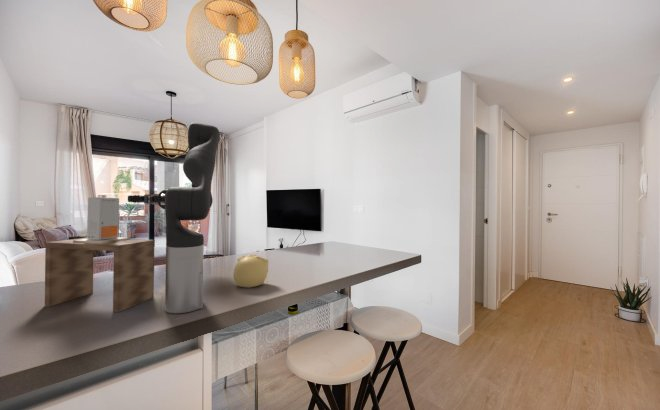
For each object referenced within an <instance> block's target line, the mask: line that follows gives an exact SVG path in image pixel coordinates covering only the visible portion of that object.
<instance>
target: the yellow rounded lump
mask: <svg viewBox="0 0 660 410" xmlns="http://www.w3.org/2000/svg"><path fill="white" fill-rule="evenodd" d="M268 272H269V259H267V258H264V257H262V256H259V255H257V254H250V255H243V256H241V257H239V258H237V262H236V263H235V265H234V268H233V272H232V273H233V281H234V283H235V284H236V285H237V286H238V287H242V288H254V287H258V286H261V285H263V284H264V283H265V281H266V280H267V278H268V277H267V276H268Z"/></svg>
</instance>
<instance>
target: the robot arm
mask: <svg viewBox="0 0 660 410" xmlns="http://www.w3.org/2000/svg"><path fill="white" fill-rule="evenodd" d="M220 136H221V135H220V130H219V128H218V127H216V126H214V125H211V124H210V125H209V124H205V123H199V122H191V123H190V124H189V126H188V130H187V144H188V145H187V146H188V152H187V153H186V155H185V157H184V161H183V165H182V170H183V172H184V175H185V177H186V178H187V179H188V180H189V181H190V182H191V186H170V187H169V188H167V189H163V190H161V191H160V192H159V193H154V194H150V193H149V194H144V195H140V194H139V195H136V194H134V195H128V196H127V202H128V203H134V204H136V203H137V204H138V203H143V204H144V205H154V206H159V208H161V209H162V210H164V213H165V283H164V284H165V289H164V290H165V293H164V294H165V297H164V309H165V312H166V313H168V314H183V313H185V314H186V313H190V312H194V311H196V310H200V309H204V306H203V305H204V251H205V250H204V247H205V246H204V245H205V240H204V239H205V237H204V235H203V234H202V233H200V232H198V231H197V232H196V231H194V230H191V229H189V228H187V227H185V226H184V225H183V224H182V222H181V221H203V220H205V219H206V218H208V216H209V213H210V208H211V207H212V205H213V200H214V199H213V195H212V192H211V190H212V182H213V177H214V171H215V167H216V154H217V152H218V151H217V150H218V147H219V144H220V139H221V137H220Z"/></svg>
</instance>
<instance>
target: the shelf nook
mask: <svg viewBox="0 0 660 410" xmlns="http://www.w3.org/2000/svg"><path fill="white" fill-rule="evenodd" d="M44 251H45V256H44V261H45V265H44V273H45V274H44V307H51V306H52V307H53V306H55V305H59V304H61V303H62V304H63V303H65V302H67V301H71V300H75V299H78V298H81V297H84V296H87V295H90V294H94V255H95V254H94V251H104V252H105V251H106V252H107V251H109V252H113V273H112V274H113V277H112V279H113V283H112V284H113V285H112V291H113V292H112V312H113V313H120V312H121V311H122V312H123V311H124V310H125V311H126V310H127V309H129V308H132V307H134V306H136V305H138V304H141V303H143V302H146V301H148V300H151V299H153V298H154V296H155V293H154V291H155V239H144V238H143V239H142V238H141V239H139V238H137V239H136V238H131V237H121V236H118V238H113V239H103V240H87V237H82V238H73V239H63V240H56V241H54V240H53V241H45V250H44Z"/></svg>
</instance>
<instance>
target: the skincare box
mask: <svg viewBox="0 0 660 410" xmlns="http://www.w3.org/2000/svg"><path fill="white" fill-rule="evenodd" d="M119 212H120V198H119V197H94V196H93V197H92V196H91V197H87V220H86V221H87V222H86V223H87V224H86V226H87V228H86V238H87V240H103V239H113V238H118V237H119V223H120V221H119V220H120V218H119V215H120V213H119Z"/></svg>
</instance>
